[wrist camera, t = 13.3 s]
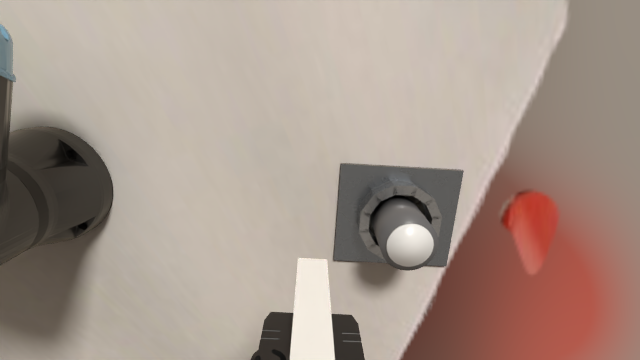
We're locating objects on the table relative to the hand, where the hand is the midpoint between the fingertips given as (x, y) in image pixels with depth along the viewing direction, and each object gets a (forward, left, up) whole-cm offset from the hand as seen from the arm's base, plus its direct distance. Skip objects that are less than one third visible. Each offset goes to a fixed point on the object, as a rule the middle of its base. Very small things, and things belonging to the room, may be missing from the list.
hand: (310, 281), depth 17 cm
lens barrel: (+11, -7, -27) cm, 29 cm away
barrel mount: (+11, -7, -27) cm, 30 cm away
